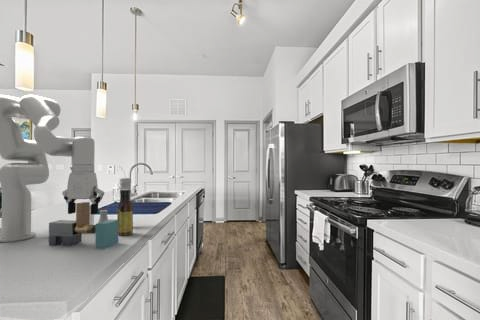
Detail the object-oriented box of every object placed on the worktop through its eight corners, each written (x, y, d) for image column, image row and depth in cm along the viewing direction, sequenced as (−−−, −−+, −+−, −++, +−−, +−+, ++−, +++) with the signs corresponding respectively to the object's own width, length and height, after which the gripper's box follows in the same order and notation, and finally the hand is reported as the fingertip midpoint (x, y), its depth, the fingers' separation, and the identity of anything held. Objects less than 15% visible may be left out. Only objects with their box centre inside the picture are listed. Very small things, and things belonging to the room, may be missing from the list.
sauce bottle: (120, 232, 119) (120, 188, 119) (134, 232, 120) (134, 188, 120) (114, 236, 112) (115, 190, 113) (129, 236, 113) (130, 189, 113)
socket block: (95, 248, 96) (95, 223, 96) (109, 242, 104) (109, 219, 104) (104, 249, 95) (105, 224, 96) (118, 242, 103) (118, 219, 104)
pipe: (126, 229, 126) (126, 166, 126) (115, 228, 127) (115, 166, 128) (133, 226, 131) (133, 166, 132) (122, 226, 132) (122, 166, 133)
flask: (115, 231, 122) (116, 209, 122) (103, 235, 115) (103, 212, 115) (103, 230, 124) (103, 208, 125) (90, 233, 118) (90, 211, 118)
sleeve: (47, 245, 100) (47, 223, 101) (60, 241, 106) (60, 219, 106) (70, 246, 99) (71, 223, 99) (82, 242, 105) (82, 220, 105)
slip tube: (53, 233, 101) (53, 203, 101) (61, 230, 105) (62, 201, 105) (90, 234, 99) (91, 203, 99) (98, 232, 103) (98, 202, 103)
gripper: (55, 169, 100) (55, 214, 99) (96, 169, 97) (96, 216, 97) (71, 169, 107) (70, 211, 107) (109, 169, 104) (109, 212, 104)
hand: (83, 213), depth 102 cm, fingers open, 9 cm apart
